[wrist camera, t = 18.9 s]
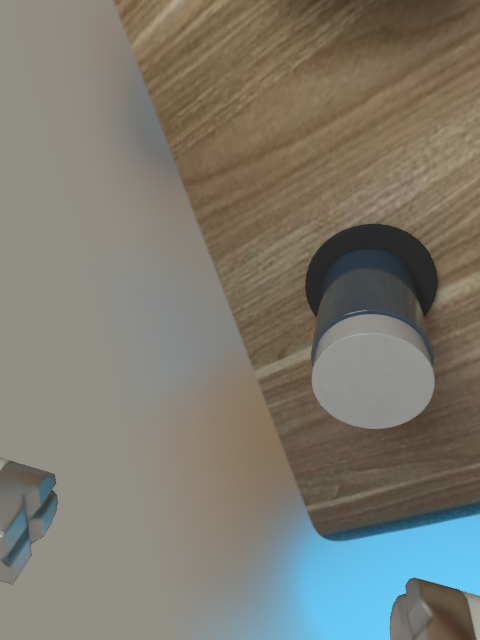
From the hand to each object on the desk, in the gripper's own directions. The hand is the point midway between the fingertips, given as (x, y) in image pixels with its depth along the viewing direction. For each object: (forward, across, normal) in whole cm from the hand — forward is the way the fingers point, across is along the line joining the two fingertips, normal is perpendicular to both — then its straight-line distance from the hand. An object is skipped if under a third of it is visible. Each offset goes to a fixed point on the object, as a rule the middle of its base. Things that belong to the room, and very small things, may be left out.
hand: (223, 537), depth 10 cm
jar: (+23, -6, +8) cm, 25 cm away
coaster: (+24, -6, +4) cm, 25 cm away
